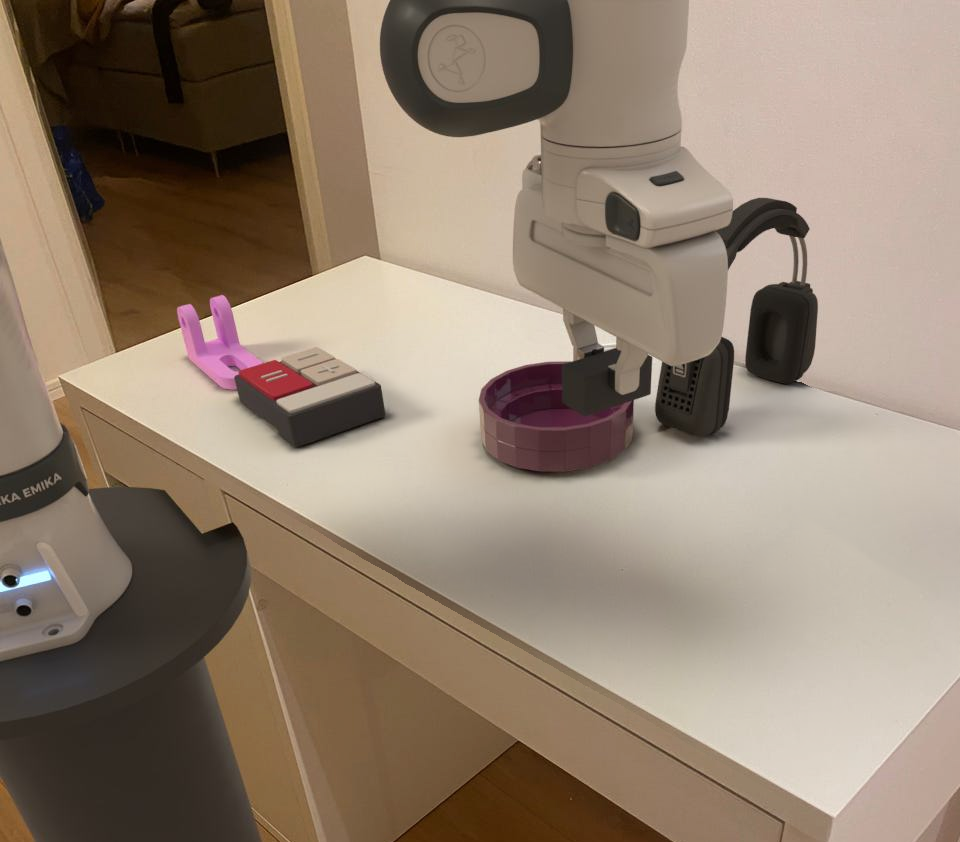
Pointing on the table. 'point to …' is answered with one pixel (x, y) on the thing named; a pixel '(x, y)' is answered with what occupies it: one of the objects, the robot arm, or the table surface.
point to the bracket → (215, 343)
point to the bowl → (547, 423)
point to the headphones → (771, 335)
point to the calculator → (310, 395)
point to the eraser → (599, 383)
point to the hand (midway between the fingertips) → (605, 379)
